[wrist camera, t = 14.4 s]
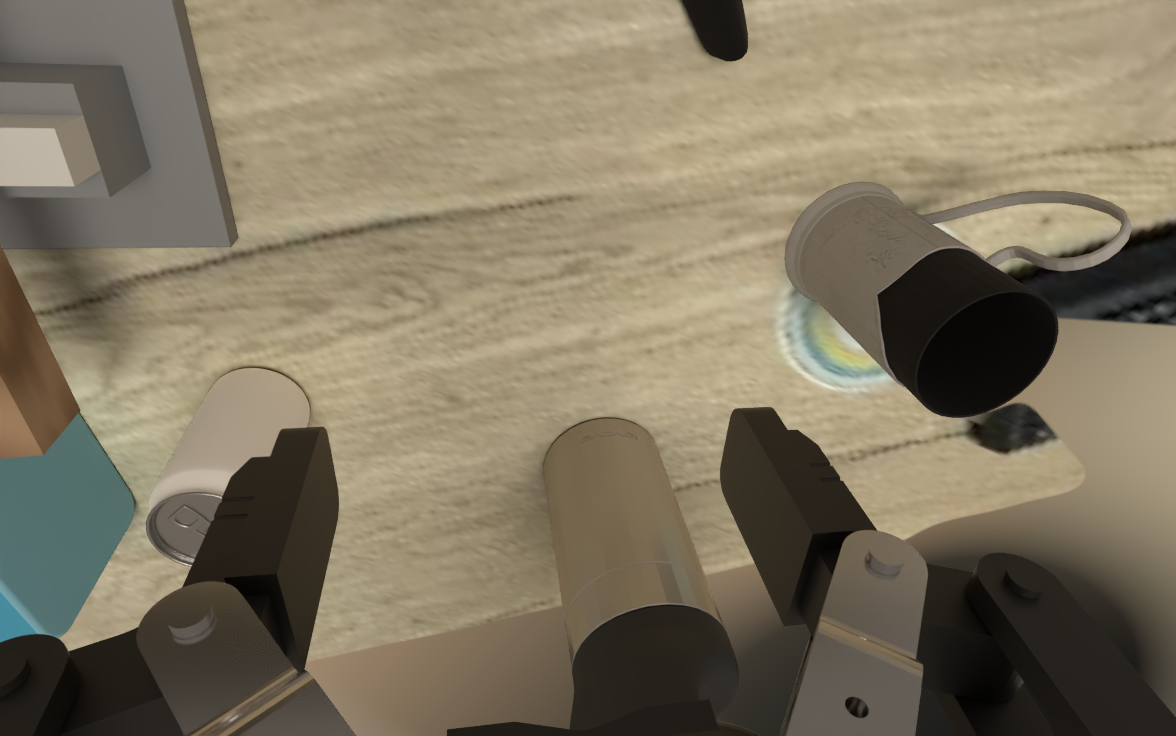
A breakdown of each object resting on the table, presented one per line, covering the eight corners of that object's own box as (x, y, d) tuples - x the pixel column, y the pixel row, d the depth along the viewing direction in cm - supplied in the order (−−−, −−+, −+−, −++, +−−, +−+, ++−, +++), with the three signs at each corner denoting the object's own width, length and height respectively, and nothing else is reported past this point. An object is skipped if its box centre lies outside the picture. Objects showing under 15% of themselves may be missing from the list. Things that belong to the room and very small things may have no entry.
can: (269, 456, 49) (218, 591, 39) (188, 403, 45) (109, 535, 35) (331, 405, 47) (295, 530, 37) (251, 346, 44) (188, 466, 34)
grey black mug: (761, 240, 45) (874, 355, 33) (952, 95, 42) (1158, 161, 30) (820, 324, 50) (939, 454, 37) (997, 199, 46) (1193, 294, 34)
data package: (-22, 382, 43) (-173, 518, 32) (53, 369, 43) (-74, 500, 33) (78, 518, 49) (-23, 667, 39) (142, 506, 49) (59, 651, 39)
